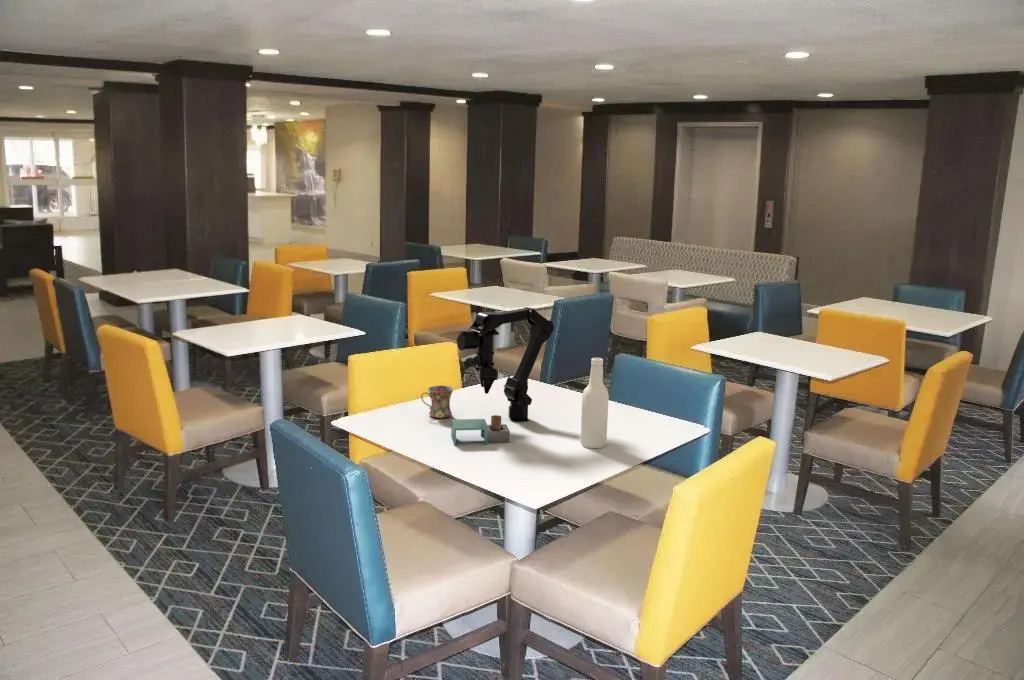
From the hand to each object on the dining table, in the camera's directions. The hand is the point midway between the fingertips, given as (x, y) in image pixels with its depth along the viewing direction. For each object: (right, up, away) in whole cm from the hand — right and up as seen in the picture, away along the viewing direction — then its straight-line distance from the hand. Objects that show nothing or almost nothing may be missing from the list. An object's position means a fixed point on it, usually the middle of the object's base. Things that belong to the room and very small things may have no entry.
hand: (484, 390), depth 299 cm
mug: (-18, -11, +12) cm, 24 cm away
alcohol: (+37, -18, -17) cm, 45 cm away
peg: (+4, -16, -13) cm, 21 cm away
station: (-2, -16, -14) cm, 22 cm away
